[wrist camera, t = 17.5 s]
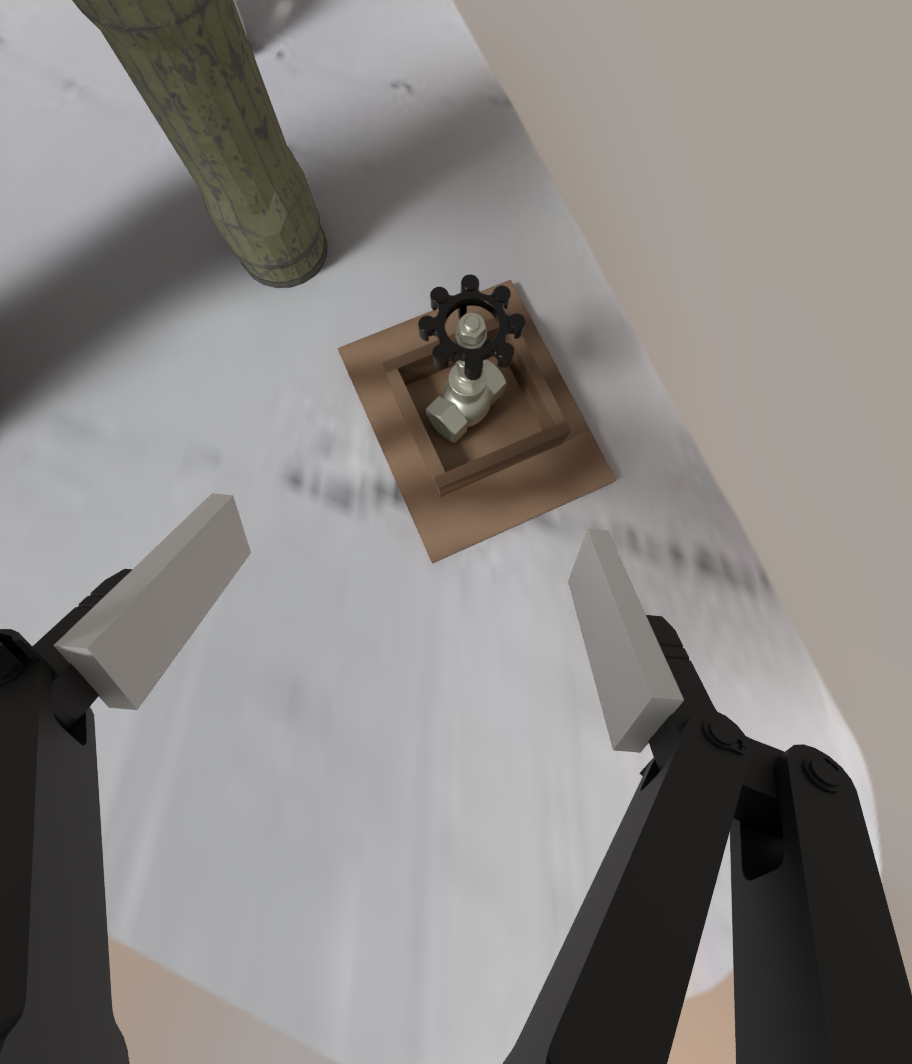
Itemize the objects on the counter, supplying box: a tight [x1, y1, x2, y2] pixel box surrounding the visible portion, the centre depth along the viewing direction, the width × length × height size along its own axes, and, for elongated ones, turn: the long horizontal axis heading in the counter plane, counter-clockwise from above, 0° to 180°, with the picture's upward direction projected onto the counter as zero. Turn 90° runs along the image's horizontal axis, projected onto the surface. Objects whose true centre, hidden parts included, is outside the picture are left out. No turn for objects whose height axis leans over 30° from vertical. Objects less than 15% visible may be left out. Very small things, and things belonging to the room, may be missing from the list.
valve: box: [418, 275, 526, 443], centre depth 29 cm, size 7×7×12 cm
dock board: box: [338, 280, 616, 563], centre depth 34 cm, size 22×18×4 cm
